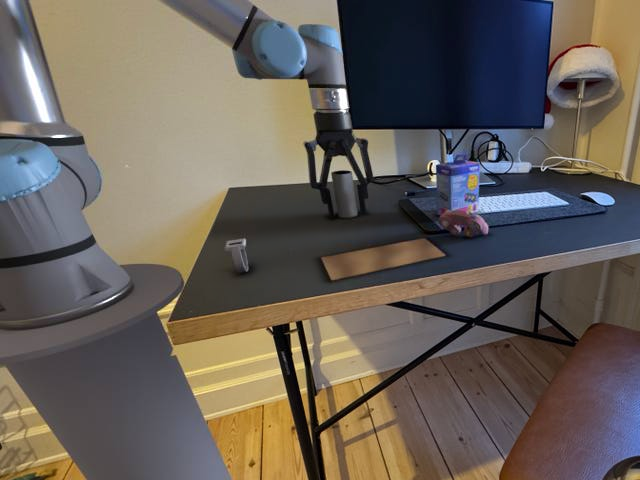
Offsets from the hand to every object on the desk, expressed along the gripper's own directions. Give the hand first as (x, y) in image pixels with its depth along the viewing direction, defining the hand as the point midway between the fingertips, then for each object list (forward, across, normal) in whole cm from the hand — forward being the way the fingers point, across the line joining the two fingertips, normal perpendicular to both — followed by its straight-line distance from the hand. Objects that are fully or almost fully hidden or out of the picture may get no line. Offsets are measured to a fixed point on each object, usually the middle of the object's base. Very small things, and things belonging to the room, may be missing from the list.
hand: (347, 214), depth 89 cm
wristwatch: (+1, -22, -23) cm, 32 cm away
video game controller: (+1, +18, -26) cm, 32 cm away
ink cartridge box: (+1, +24, -12) cm, 27 cm away
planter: (+1, 0, 0) cm, 1 cm away
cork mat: (0, 0, -29) cm, 29 cm away
